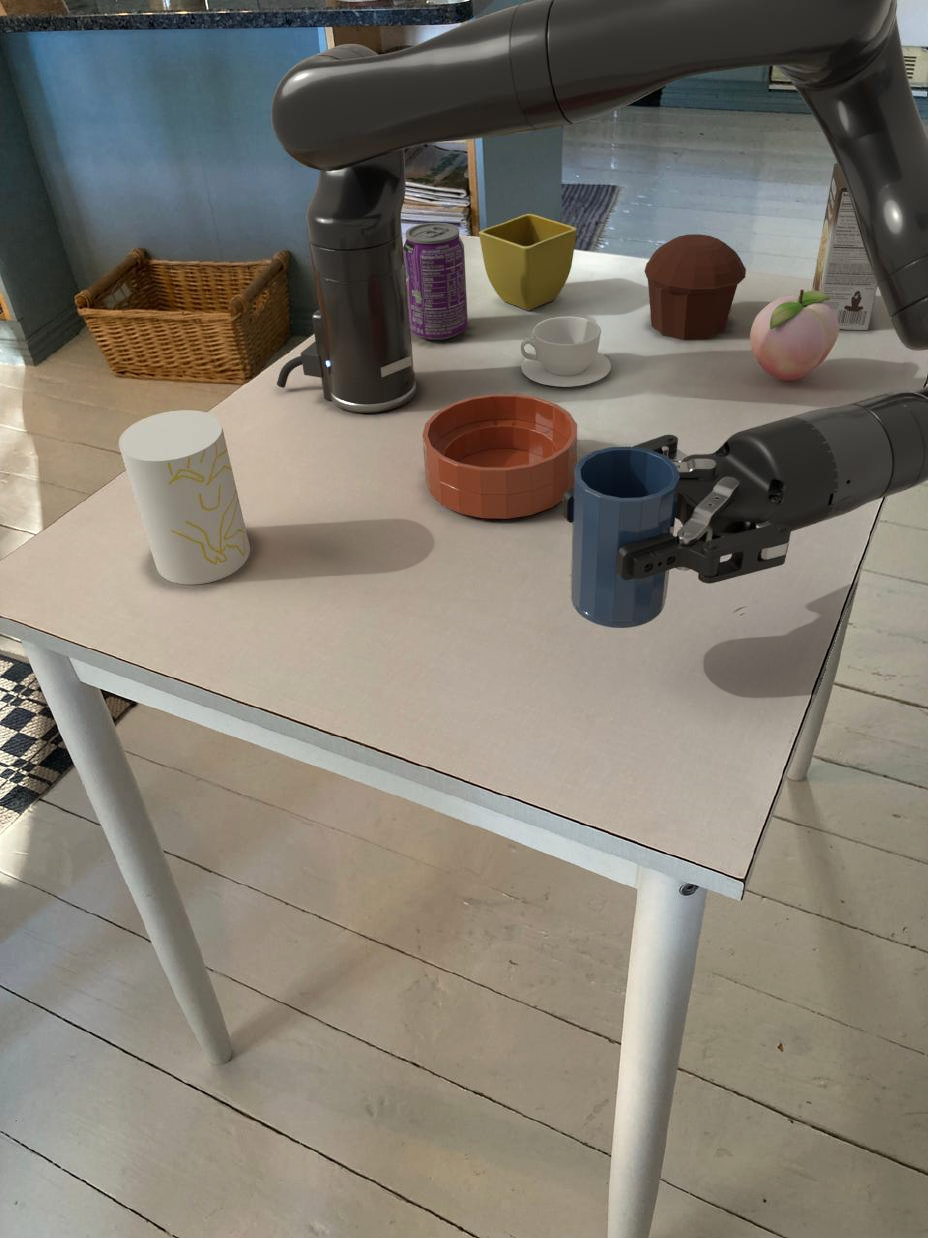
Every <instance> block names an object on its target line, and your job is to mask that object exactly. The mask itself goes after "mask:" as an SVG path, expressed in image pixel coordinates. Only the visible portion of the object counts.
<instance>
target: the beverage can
mask: <svg viewBox="0 0 928 1238" xmlns="http://www.w3.org/2000/svg"><path fill="white" fill-rule="evenodd" d="M403 251H404V262H405V273H406V285H407V296H408V308H409V319H410V331H411V334H413V335H415V336H418V337H420V338H422V339H425V340H429V341H445V340H449V339H451V338H454V337H456V336H457V335H459V334H462V333H463V332H464V331H466V329H468V326H469V323H468V322H469V320H468V319H469V318H468V302H467V301H468V299H467V279H466V278H467V277H466V257H465V255H466V254H465V244H464V242H463V241H462V238H461V237H460V228H459V227H458V226H456V225H454V224H452V223H447V222H425V223H420V224H417V225H414V226H411V227H409V228H408V229H406V231H405V242H404V243H403Z"/></svg>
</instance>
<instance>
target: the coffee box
mask: <svg viewBox="0 0 928 1238" xmlns="http://www.w3.org/2000/svg"><path fill="white" fill-rule="evenodd" d="M831 176H832V177H831V181H830V185H829V190H828V191H829V192H828V196H827V203H826V208H825V214H824V219H823V223H822V231H821V236H820V241H819V243H820V244H819V247H818V252H817V259H816V264H815V269H814V274H813V275H814V276H813V280H812V286H811V291H820V292H823V293H824V294H826V295H827V296H829V298H830V300H825V301H824V302H825V303H826V304H828V305H829V306H830V307H831V308H832V309H833V311H834V312H835V314H836V317H837V319H838V323H839V330H846V331H848V330H849V331H850V330H851V331H869V327H870V322H871V317H872V313H873V310H874V309H873V308H874V304H875V300H876V295H877V290H878V285H877V283H876V281H875V278H874V275H873V273H872V270H871V267H870V264H869V262H868V259H867V256H866V253H865V250H864V246H863V243H862V240H861V237H860V233H859V230H858V226H857V223H856V219H855V216H854V212H853V208H852V205H851V201H850V198H849V194H848V191H847V188H846V185H845V182H844V179H843V176H842V173H841V171H840V168H839V166H838V163H837V162H835V163H833V168H832V175H831Z"/></svg>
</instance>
